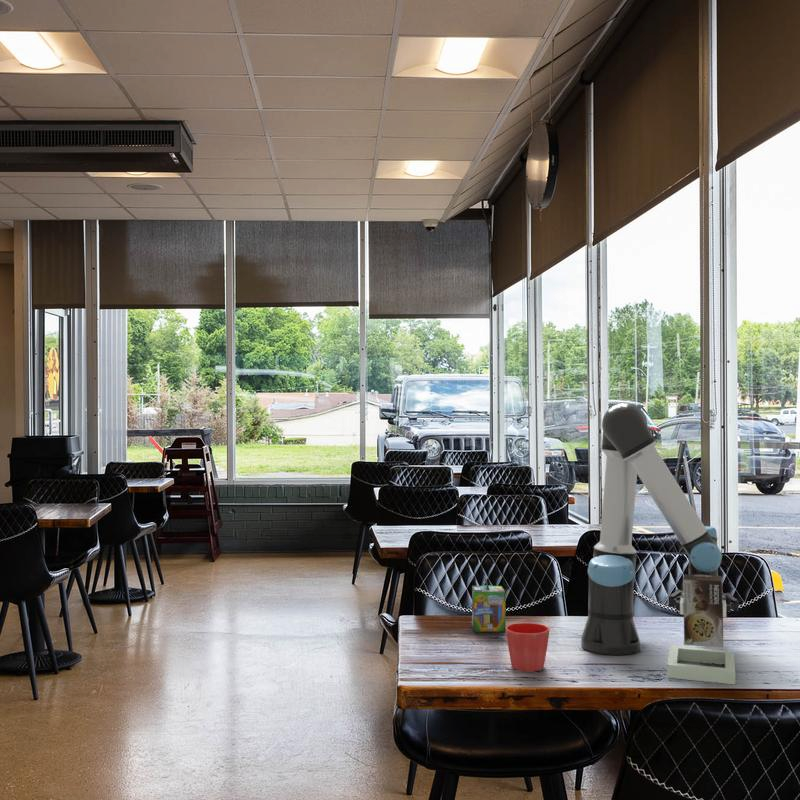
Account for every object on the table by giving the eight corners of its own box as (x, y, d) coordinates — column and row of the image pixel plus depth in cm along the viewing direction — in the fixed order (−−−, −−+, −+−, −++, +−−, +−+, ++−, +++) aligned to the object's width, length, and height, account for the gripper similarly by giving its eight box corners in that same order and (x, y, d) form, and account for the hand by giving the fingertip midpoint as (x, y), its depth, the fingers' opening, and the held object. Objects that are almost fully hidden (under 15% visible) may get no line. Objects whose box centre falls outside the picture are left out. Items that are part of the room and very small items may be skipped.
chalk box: (505, 632, 252) (506, 580, 252) (473, 632, 252) (473, 579, 252) (502, 624, 261) (503, 573, 261) (471, 624, 261) (471, 573, 261)
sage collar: (667, 677, 211) (667, 664, 211) (670, 657, 228) (670, 645, 228) (735, 684, 207) (735, 671, 207) (733, 663, 224) (733, 651, 224)
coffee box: (723, 641, 219) (722, 575, 219) (723, 648, 213) (723, 580, 213) (683, 638, 222) (683, 573, 222) (683, 645, 216) (682, 578, 216)
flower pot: (496, 667, 218) (496, 627, 218) (522, 658, 226) (522, 620, 226) (532, 677, 211) (532, 635, 211) (558, 667, 219) (558, 627, 219)
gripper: (747, 608, 231) (752, 629, 210) (660, 603, 238) (655, 622, 217) (747, 579, 231) (751, 597, 210) (660, 574, 238) (655, 591, 217)
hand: (703, 610), depth 213 cm, fingers closed on coffee box, 9 cm apart
